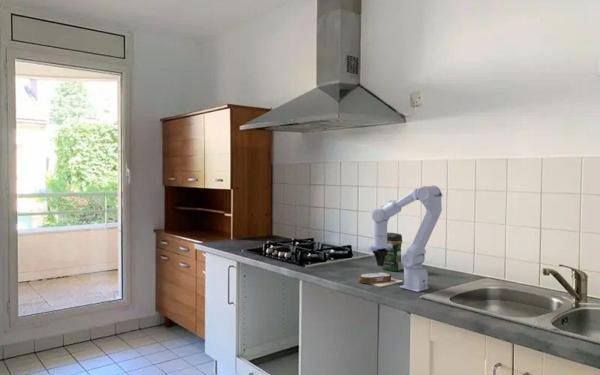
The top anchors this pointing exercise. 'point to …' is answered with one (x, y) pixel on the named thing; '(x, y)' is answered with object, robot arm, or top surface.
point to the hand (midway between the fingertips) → (380, 265)
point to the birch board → (386, 283)
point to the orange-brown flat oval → (374, 277)
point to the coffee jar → (393, 253)
